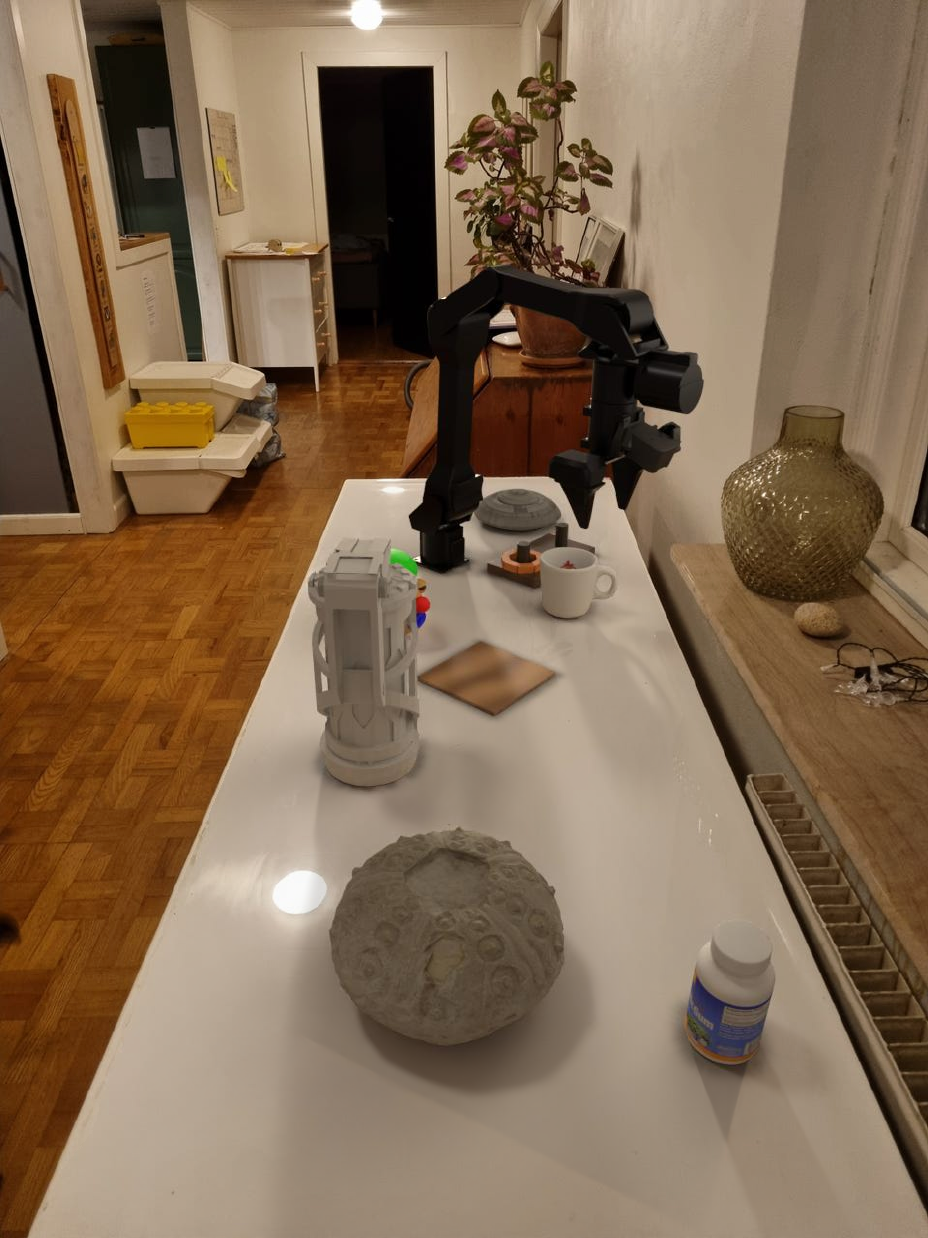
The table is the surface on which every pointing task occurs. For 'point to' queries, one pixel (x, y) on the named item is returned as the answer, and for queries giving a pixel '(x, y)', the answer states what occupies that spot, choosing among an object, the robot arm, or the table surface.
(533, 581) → the peg board
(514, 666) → the cork mat
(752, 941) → the pill bottle
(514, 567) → the ring
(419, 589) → the figurine
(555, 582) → the cup
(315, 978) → the table surface
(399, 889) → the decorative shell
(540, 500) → the flying saucer
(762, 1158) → the table surface
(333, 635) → the lantern
